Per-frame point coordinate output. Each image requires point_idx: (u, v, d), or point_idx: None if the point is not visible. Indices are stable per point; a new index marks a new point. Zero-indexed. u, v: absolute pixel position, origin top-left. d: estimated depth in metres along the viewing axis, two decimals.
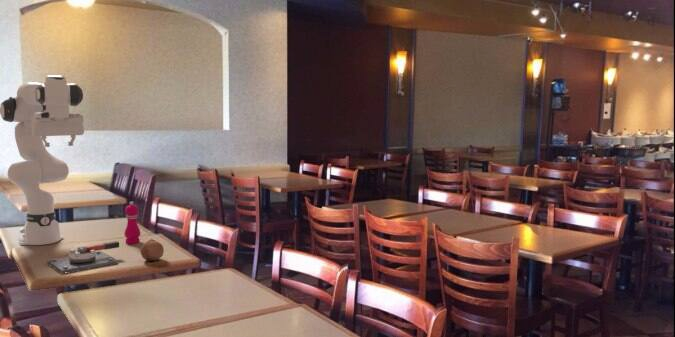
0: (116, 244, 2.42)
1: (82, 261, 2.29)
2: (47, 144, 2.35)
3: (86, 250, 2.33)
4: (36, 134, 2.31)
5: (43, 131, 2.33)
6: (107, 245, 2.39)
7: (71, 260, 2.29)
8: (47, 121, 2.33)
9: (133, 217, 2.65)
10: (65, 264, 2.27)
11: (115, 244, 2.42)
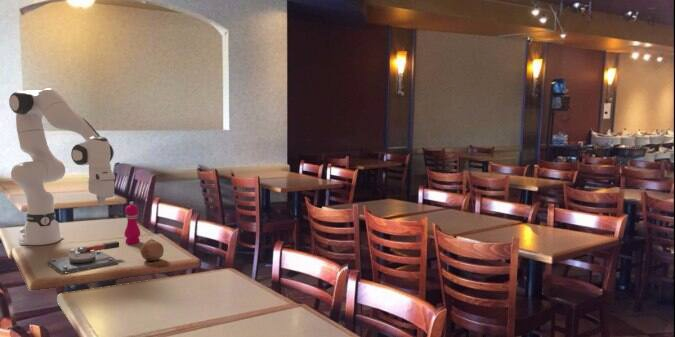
0: (116, 244, 2.42)
1: (82, 261, 2.29)
2: None
3: (86, 250, 2.33)
4: None
5: None
6: (107, 245, 2.39)
7: (71, 260, 2.29)
8: None
9: (133, 217, 2.65)
10: (65, 264, 2.27)
11: (115, 244, 2.42)
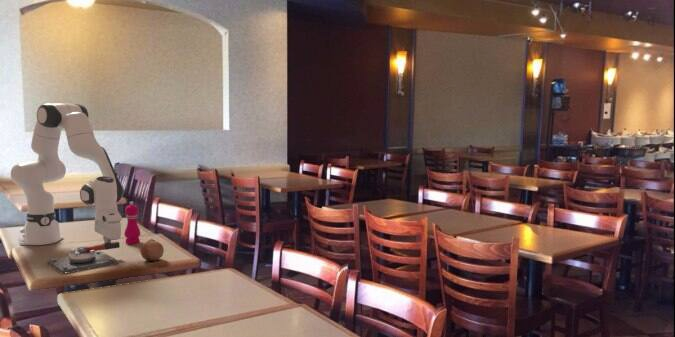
0: (116, 244, 2.41)
1: (82, 261, 2.29)
2: None
3: (86, 250, 2.33)
4: None
5: None
6: (107, 245, 2.39)
7: (71, 260, 2.29)
8: None
9: (133, 217, 2.65)
10: (65, 264, 2.27)
11: (115, 245, 2.41)
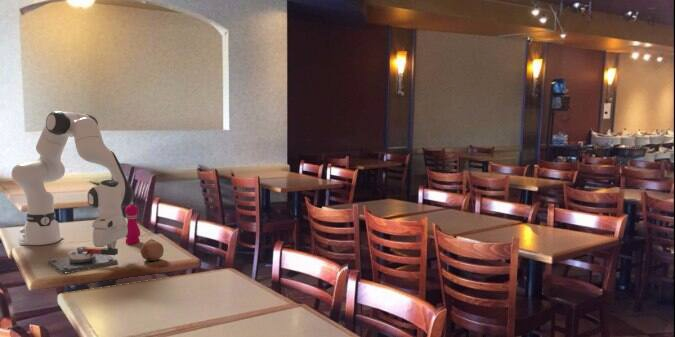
0: (112, 251, 2.30)
1: (72, 261, 2.29)
2: None
3: (83, 251, 2.32)
4: (102, 245, 2.24)
5: (106, 240, 2.27)
6: (103, 250, 2.31)
7: None
8: (109, 230, 2.28)
9: (133, 217, 2.65)
10: (65, 264, 2.27)
11: (111, 252, 2.31)
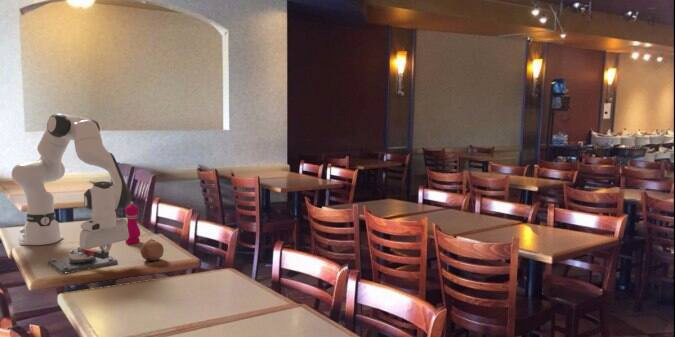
0: (101, 255, 2.25)
1: (69, 260, 2.30)
2: None
3: (81, 251, 2.31)
4: (87, 247, 2.20)
5: (93, 243, 2.22)
6: (95, 253, 2.27)
7: None
8: (97, 232, 2.23)
9: (133, 217, 2.65)
10: (65, 264, 2.27)
11: (101, 255, 2.26)
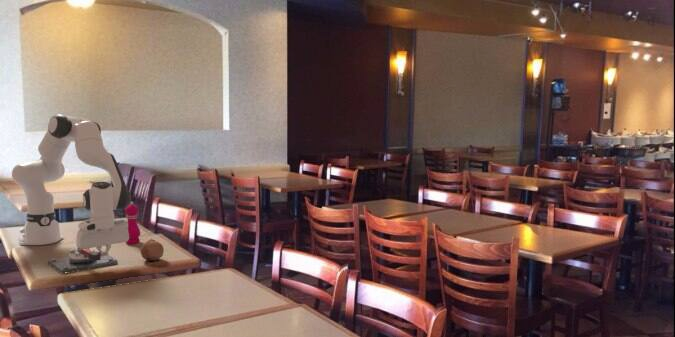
0: (93, 256, 2.23)
1: (69, 259, 2.31)
2: (102, 254, 2.26)
3: (80, 251, 2.31)
4: (82, 247, 2.19)
5: (89, 243, 2.21)
6: (89, 254, 2.25)
7: None
8: (93, 232, 2.21)
9: (133, 217, 2.65)
10: (65, 264, 2.27)
11: (93, 256, 2.23)
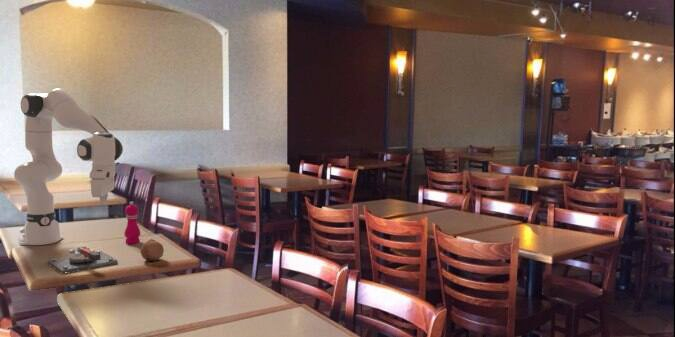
0: (93, 256, 2.23)
1: (69, 259, 2.31)
2: (105, 202, 2.33)
3: (80, 251, 2.31)
4: (101, 195, 2.24)
5: (103, 191, 2.27)
6: (89, 254, 2.25)
7: None
8: (106, 180, 2.28)
9: (133, 217, 2.65)
10: (65, 264, 2.27)
11: (93, 256, 2.23)
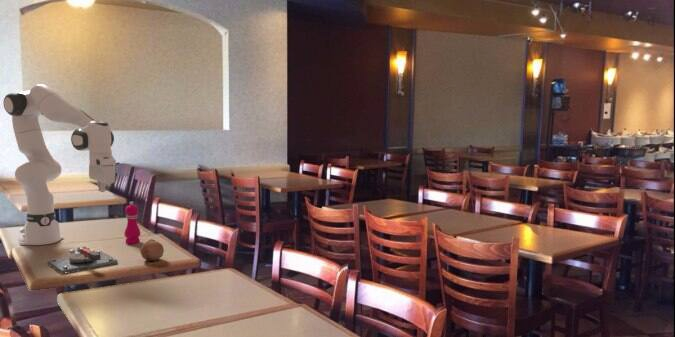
0: (93, 256, 2.23)
1: (69, 259, 2.31)
2: None
3: (80, 251, 2.31)
4: None
5: None
6: (89, 254, 2.25)
7: None
8: None
9: (133, 217, 2.65)
10: (65, 264, 2.27)
11: (93, 256, 2.23)
